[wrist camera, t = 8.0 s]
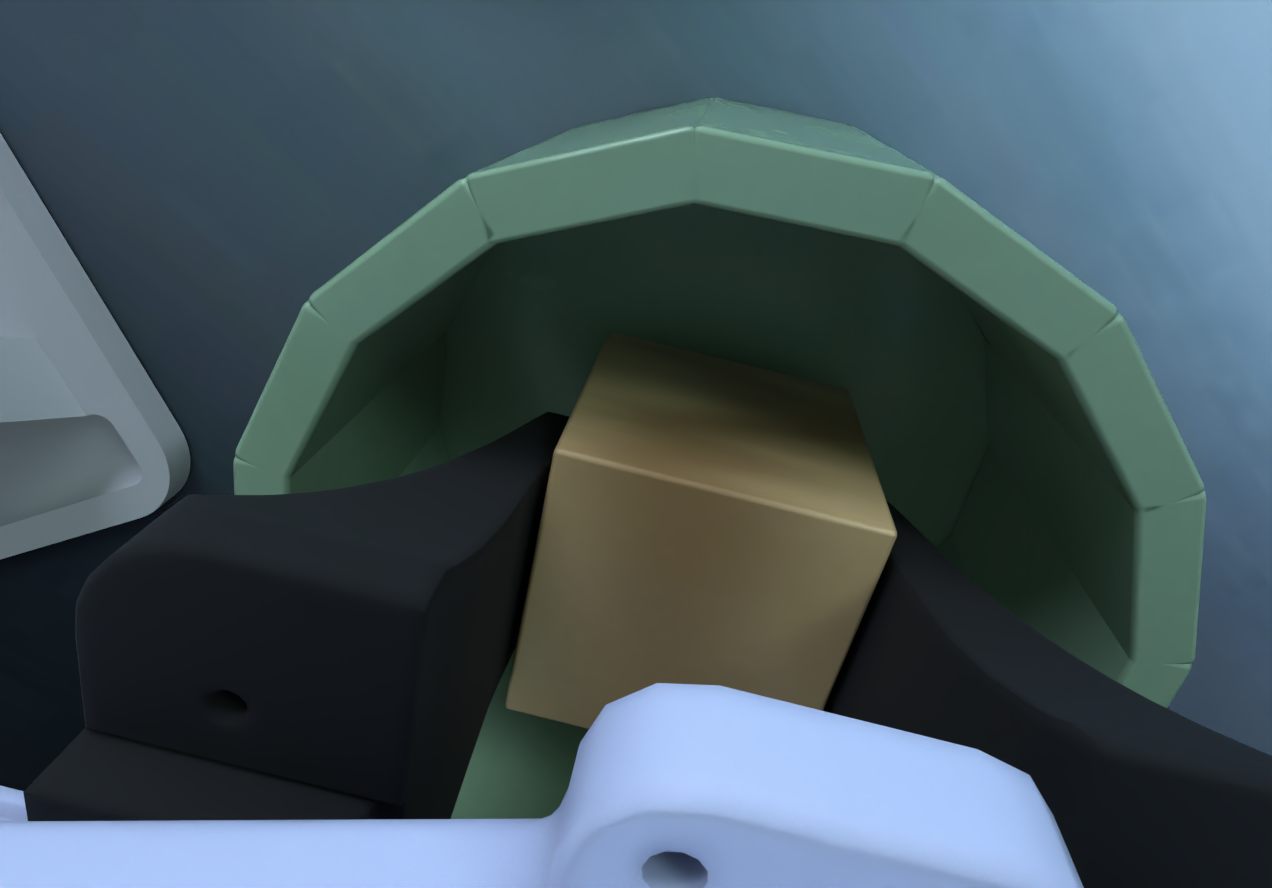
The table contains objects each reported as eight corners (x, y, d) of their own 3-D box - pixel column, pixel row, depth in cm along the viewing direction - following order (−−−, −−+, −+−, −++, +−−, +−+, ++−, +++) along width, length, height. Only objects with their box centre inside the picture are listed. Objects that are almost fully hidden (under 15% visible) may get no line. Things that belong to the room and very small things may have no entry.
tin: (1165, 355, 14) (1455, 557, 8) (766, 741, 19) (780, 1041, 13) (612, -53, 13) (506, -146, 7) (325, 482, 17) (119, 695, 11)
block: (850, 388, 13) (900, 534, 9) (778, 586, 15) (794, 782, 11) (608, 329, 13) (554, 449, 9) (565, 534, 15) (502, 710, 11)
